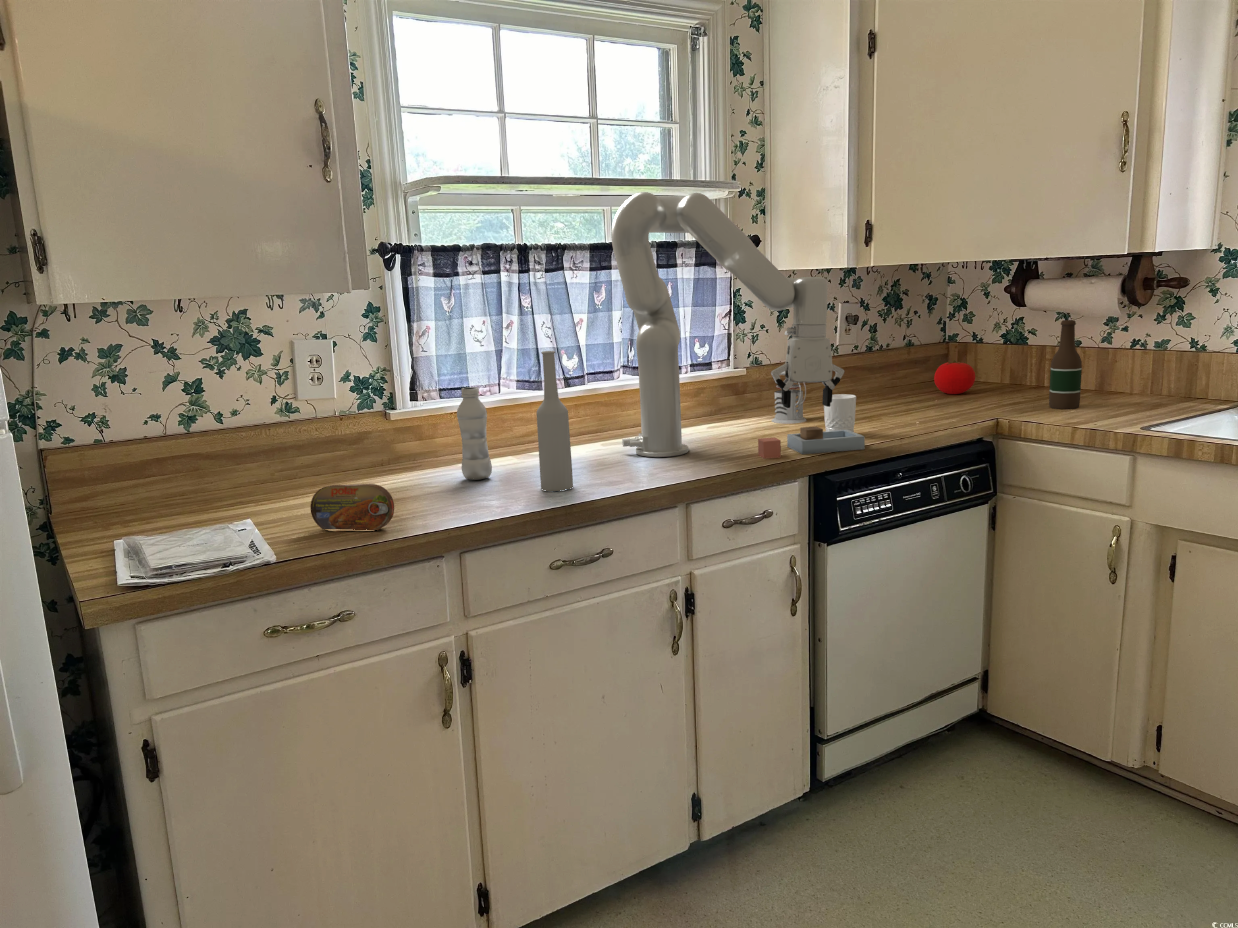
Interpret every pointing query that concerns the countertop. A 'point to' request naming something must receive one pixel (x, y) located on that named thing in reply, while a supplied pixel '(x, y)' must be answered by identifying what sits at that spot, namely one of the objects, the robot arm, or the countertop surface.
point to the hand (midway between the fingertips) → (806, 406)
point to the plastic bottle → (473, 435)
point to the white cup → (840, 413)
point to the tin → (352, 507)
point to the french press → (790, 413)
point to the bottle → (553, 433)
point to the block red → (769, 447)
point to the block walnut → (811, 433)
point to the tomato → (954, 377)
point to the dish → (827, 442)
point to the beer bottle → (1065, 371)
